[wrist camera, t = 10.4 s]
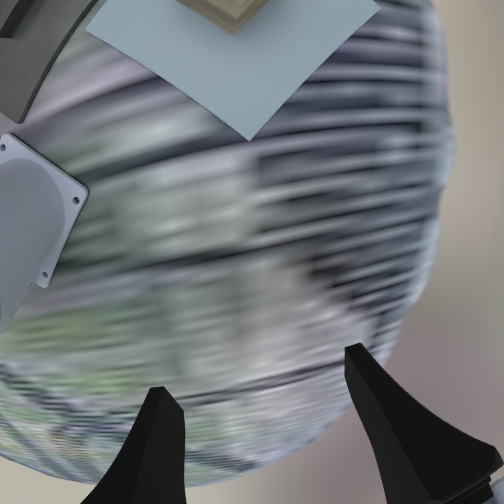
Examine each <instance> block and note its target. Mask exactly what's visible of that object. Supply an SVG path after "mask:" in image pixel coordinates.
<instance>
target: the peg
mask: <svg viewBox="0 0 504 504" xmlns="http://www.w3.org/2000/svg"><path fill="white" fill-rule="evenodd" d="M176 1H178V2H179V3H181V4H183V5H184V6H186V7H188V8H189V9H191V10H193V11H194V12H196V13H198V14H199V15H201V16H202V17H204V18H205V19H207V20H208V21H210V22H212V23H213V24H215V25H216V26H218V27H219V28H220V29H222V30H223V31H225V32H226V33H228V34H229V35H231V36H233V35H234V34H235V33H236V32H237V31H238V30H239V29H240V28H241V27H242V26H243V25H244V24H245V23H246V22H247V21H248V20H249V19H250V18H251V17H252V16H253V15H254V14H255V13H256V12H257V11H259V10H260V9H261V8H262V7H263V6H264V5H265V4H266V3H267V2H268V1H270V0H176Z"/></svg>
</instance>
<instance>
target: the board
mask: <svg viewBox="0 0 504 504" xmlns="http://www.w3.org/2000/svg"><path fill="white" fill-rule="evenodd" d="M380 9H381V8H380V7H379V6H378V5H377V4H376V3H375V2H374V1H373V0H270V1H268V2H267V3H266V4H265V5H264V6H263V7H262V8H261V9H260V10H259V11H257V12H256V13H255V14H254V15H253V16H252V17H251V18H250V19H249V20H248V21H247V22H246V23H245V24H244V25H243V26H242V27H241V28H240V29H239V30H238V31H237V32H236V33H235V34H234V35H233V36H231V35H229V34H228V33H226V32H225V31H223V30H222V29H220V28H219V27H218V26H216V25H215V24H213V23H212V22H210V21H208V20H207V19H205V18H204V17H202V16H201V15H199V14H198V13H196V12H194V11H193V10H191V9H189V8H188V7H186V6H184V5H183V4H181V3H179V2H178V1H176V0H108V1H107V2H106V3H105V4H104V6H103V7H102V8H101V9H100V10H99V12H98V13H97V14H96V16H95V17H94V18H93V19H92V21H91V22H90V23H89V25H88V26H87V27H86V29H85V31H87V32H89V33H91V34H92V35H94V36H96V37H98V38H99V39H101V40H103V41H105V42H106V43H108V44H110V45H111V46H113V47H115V48H116V49H118V50H120V51H121V52H123V53H125V54H126V55H128V56H129V57H131V58H133V59H134V60H136V61H137V62H139V63H141V64H142V65H144V66H145V67H147V68H148V69H150V70H151V71H153V72H155V73H156V74H158V75H159V76H161V77H162V78H164V79H165V80H167V81H168V82H170V83H171V84H172V85H174V86H175V87H177V88H178V89H180V90H181V91H183V92H184V93H185V94H187V95H188V96H190V97H191V98H193V99H194V100H195V101H197V102H198V103H200V104H201V105H202V106H204V107H205V108H206V109H208V110H209V111H210V112H212V113H213V114H215V115H216V116H217V117H219V118H220V119H221V120H223V121H224V122H225V123H226V124H228V125H229V126H230V127H232V128H233V129H234V130H236V131H237V132H238V133H239V134H241V135H242V136H243V137H245V138H246V139H247V140H248V141H250V140H251V139H252V138H253V137H254V135H255V134H256V133H257V132H258V131H259V130H260V129H261V128H262V126H263V125H264V124H265V123H266V122H267V121H268V120H269V119H270V118H271V116H272V115H273V114H274V113H275V112H276V111H277V110H278V109H279V108H280V107H281V105H282V104H283V103H284V102H285V101H286V100H287V99H288V98H289V97H290V96H291V95H292V94H293V93H294V92H295V91H296V89H297V88H298V87H299V86H300V85H301V84H302V83H303V82H304V81H305V80H306V79H307V78H308V77H309V76H310V75H311V74H312V73H313V72H314V71H315V70H316V69H317V68H318V67H319V66H320V65H321V64H322V63H323V62H324V61H325V60H326V59H327V58H328V57H329V56H330V55H331V54H332V53H333V52H334V51H335V50H336V49H337V48H338V47H339V46H340V45H341V44H342V43H343V42H344V41H345V40H347V39H348V38H349V37H350V36H351V35H352V34H353V33H354V32H355V31H356V30H357V29H358V28H359V27H361V26H362V25H363V24H364V23H365V22H366V21H367V20H368V19H369V18H370V17H372V16H373V15H374V14H375V13H376V12H377V11H378V10H380Z"/></svg>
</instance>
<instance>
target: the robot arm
mask: <svg viewBox="0 0 504 504" xmlns="http://www.w3.org/2000/svg"><path fill="white" fill-rule="evenodd" d="M4 145H5V149H4ZM87 196H88V190H87V188H86V187H85V186H83V185H82V184H81V183H79V182H78V181H76V180H75V179H73V178H72V177H70V176H69V175H68V174H66V173H65V172H63V171H62V170H60V169H59V168H58V167H56V166H55V165H53V164H52V163H51V162H49V161H48V160H46V159H45V158H44V157H42V156H41V155H39V154H38V153H37V152H35V151H34V150H32V149H31V148H30V147H28V146H27V145H26V144H24V143H23V142H22V141H20V140H19V139H17V138H16V137H15V136H13V135H12V134H11V133H5V134H4V135H2V137H1V140H0V335H1V334H2V333H3V332H4V331H5V329H6V328H7V326H8V325H9V323H10V321H11V320H12V318H13V316H14V315H15V313H16V312H17V310H18V308H19V307H20V305H21V304H22V302H23V301H24V299H25V298H26V296H27V295H28V293H29V292H30V290H31V289H32V287H33V286H34V284H35V283H36V284H38V285H39V286H40V287H42V288H46V287H47V286H48V285H49V282H50V280H51V277H52V274H53V272H54V269H55V267H56V264H57V262H58V259H59V257H60V254H61V252H62V249H63V247H64V245H65V242H66V240H67V238H68V236H69V233H70V231H71V229H72V227H73V225H74V223H75V220H76V218H77V216H78V214H79V212H80V210H81V208H82V206H83V204H84V202H85V200H86V198H87ZM75 197H78V198H79V201H80V202H77V201H76V200H75ZM45 272H46V273H47V274H48V275H47V274H46V273H45ZM345 379H346V383H347V386H348V389H349V392H350V395H351V399H352V401H353V403H354V405H355V408H356V410H357V412H358V415H359V417H360V419H361V421H362V423H363V426H364V428H365V430H366V433H367V435H368V437H369V440H370V442H371V445H372V448H373V451H374V454H375V457H376V461H377V464H378V468H379V471H380V476H381V479H382V483H383V488H384V492H385V496H386V501H387V504H504V476H503V477H502V478H500V479H498V480H496V481H494V482H493V483H491V484H489V482H491V478H490V475H491V474H492V473H494V472H495V471H497V470H498V469H499V468H500V467H502V466H503V464H504V462H503V460H502V458H501V456H500V454H499V452H498V451H497V449H496V448H495V447H494V446H492V445H490V444H487V443H485V442H482V441H480V440H478V439H476V438H473V437H471V436H470V435H468V434H466V433H464V432H462V431H460V430H459V429H457V428H455V427H453V426H451V425H450V424H449V423H447V422H445V421H443V420H442V419H441V418H439V417H438V416H436V415H435V414H433V413H432V412H431V411H429V410H428V409H427V408H425V407H424V406H423V405H421V404H420V403H419V402H418V401H417V400H415V399H414V398H413V397H412V396H411V395H409V393H407V392H406V391H405V390H404V389H403V388H402V387H401V386H400V385H399V384H398V383H397V382H396V381H395V380H394V379H393V378H392V377H390V375H389V374H388V373H387V372H386V371H385V370H384V369H383V368H382V367H381V366H380V365H379V364H378V362H377V361H376V360H375V359H374V358H373V357H372V356H371V354H370V353H369V352H368V351H367V350H366V348H365V347H364V346H363V344H361V343H357V344H354V345H351V346H348V347H345ZM184 459H185V421H184V410H183V409H182V408H181V407H180V405H179V404H178V403H177V402H176V401H175V399H174V398H173V397H172V396H171V395H170V393H169V392H168V391H167V390H166V388H165V387H164V386H161V387H152V388H150V389H149V392H148V394H147V396H146V398H145V400H144V403H143V405H142V407H141V409H140V411H139V414H138V416H137V418H136V420H135V422H134V424H133V426H132V428H131V430H130V433H129V435H128V437H127V439H126V440H125V442H124V444H123V446H122V448H121V450H120V452H119V453H118V455H117V457H116V458H115V460H114V462H113V463H112V465H111V466H110V468H109V469H108V471H107V472H106V474H105V475H104V476H103V478H102V479H101V480H100V482H99V483H98V484H97V486H96V487H95V488H94V489H93V490H92V492H91V493H90V494H89V495H88V496H87V497H86V498H85V499H84V500H83V501H82V502H81V503H80V504H187V503H186V496H185V487H184Z"/></svg>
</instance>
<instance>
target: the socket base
mask: <svg viewBox="0 0 504 504" xmlns="http://www.w3.org/2000/svg"><path fill="white" fill-rule="evenodd" d="M96 1H97V0H0V112H1V113H3V114H4V115H6V116H7V117H8V118H10V119H11V120H12V121H14V122H15V123H17V124H20V123H23V121H24V118H25V116H26V114H27V112H28V110H29V107H30V105H31V103H32V101H33V99H34V97H35V95H36V93H37V91H38V89H39V87H40V85H41V84H42V82H43V80H44V78H45V76H46V74H47V73H48V71H49V69H50V67H51V66H52V64H53V62H54V61H55V59H56V57H57V56H58V54H59V53H60V51H61V49H62V48H63V46H64V45H65V43H66V42H67V40H68V39H69V37H70V36H71V34H72V33H73V31H74V30H75V29H76V27H77V26H78V24H79V23H80V22H81V20H82V19H83V18H84V16H85V15H86V14H87V12H88V11H89V10H90V9H91V7H92V6H93V5H94V4H95V2H96Z"/></svg>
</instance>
